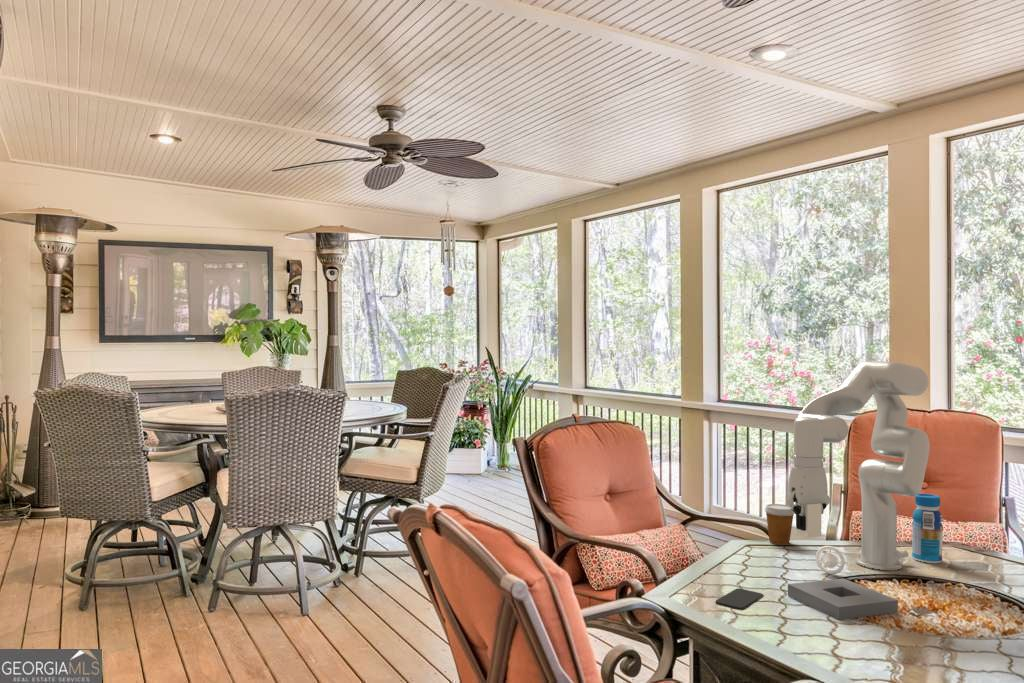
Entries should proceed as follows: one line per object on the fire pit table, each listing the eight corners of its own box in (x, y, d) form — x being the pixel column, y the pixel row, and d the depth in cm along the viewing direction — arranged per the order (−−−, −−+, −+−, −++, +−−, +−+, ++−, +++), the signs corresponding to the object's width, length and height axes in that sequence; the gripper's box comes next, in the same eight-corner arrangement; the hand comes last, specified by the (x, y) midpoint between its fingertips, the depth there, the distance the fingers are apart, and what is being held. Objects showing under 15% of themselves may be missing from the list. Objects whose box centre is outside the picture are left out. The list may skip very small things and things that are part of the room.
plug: (809, 532, 206) (809, 494, 206) (821, 536, 202) (821, 497, 202) (796, 533, 205) (796, 495, 205) (807, 537, 201) (807, 499, 201)
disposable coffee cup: (789, 547, 240) (790, 510, 240) (760, 542, 246) (760, 506, 246) (798, 542, 248) (798, 506, 248) (769, 537, 254) (770, 502, 254)
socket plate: (843, 589, 198) (843, 578, 198) (897, 612, 181) (897, 600, 181) (787, 595, 192) (787, 583, 192) (838, 619, 175) (838, 607, 175)
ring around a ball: (846, 575, 211) (846, 547, 211) (841, 579, 207) (841, 551, 207) (817, 569, 216) (817, 542, 216) (811, 574, 212) (811, 546, 212)
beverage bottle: (905, 558, 230) (906, 493, 231) (923, 555, 234) (924, 492, 234) (930, 565, 223) (931, 498, 223) (949, 562, 226) (949, 497, 227)
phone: (764, 594, 192) (742, 608, 181) (764, 597, 192) (742, 611, 181) (737, 587, 197) (713, 601, 185) (737, 590, 197) (713, 604, 185)
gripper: (823, 458, 210) (823, 522, 210) (773, 462, 204) (774, 528, 204) (843, 462, 203) (843, 529, 203) (792, 466, 197) (792, 534, 197)
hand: (808, 527), depth 203 cm, fingers closed on plug, 4 cm apart
